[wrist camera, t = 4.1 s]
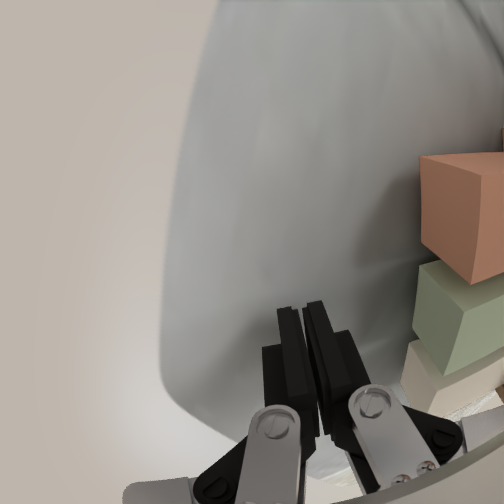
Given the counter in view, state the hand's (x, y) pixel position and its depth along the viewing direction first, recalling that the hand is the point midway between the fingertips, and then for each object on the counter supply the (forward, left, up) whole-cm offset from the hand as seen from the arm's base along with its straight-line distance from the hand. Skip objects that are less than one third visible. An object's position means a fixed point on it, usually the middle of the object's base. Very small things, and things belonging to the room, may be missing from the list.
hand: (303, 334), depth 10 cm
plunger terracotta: (-4, +9, -1) cm, 10 cm away
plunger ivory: (+4, +9, -1) cm, 10 cm away
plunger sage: (0, +9, -1) cm, 9 cm away
